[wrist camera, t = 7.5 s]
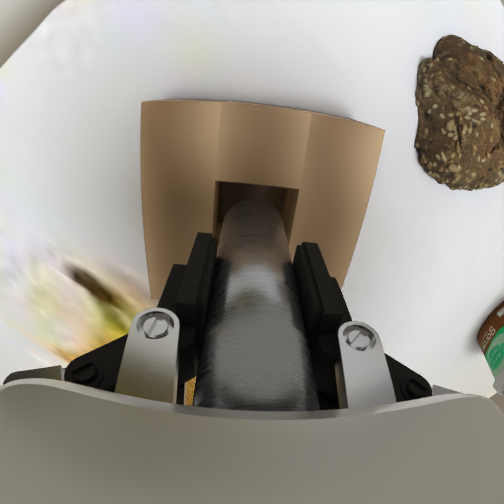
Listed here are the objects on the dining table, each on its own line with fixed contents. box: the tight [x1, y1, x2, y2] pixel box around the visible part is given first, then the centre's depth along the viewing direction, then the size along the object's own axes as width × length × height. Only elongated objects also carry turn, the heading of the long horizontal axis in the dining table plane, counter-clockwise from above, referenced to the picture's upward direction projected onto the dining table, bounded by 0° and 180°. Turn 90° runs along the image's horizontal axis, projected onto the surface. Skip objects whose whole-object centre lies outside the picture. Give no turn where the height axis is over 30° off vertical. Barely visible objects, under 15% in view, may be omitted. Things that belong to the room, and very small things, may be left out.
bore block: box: [141, 99, 385, 299], centre depth 17 cm, size 12×12×5 cm
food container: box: [477, 301, 504, 396], centre depth 24 cm, size 12×6×10 cm, turn 21°
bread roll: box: [414, 35, 504, 191], centre depth 13 cm, size 13×12×5 cm
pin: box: [192, 199, 320, 411], centre depth 9 cm, size 3×3×11 cm
